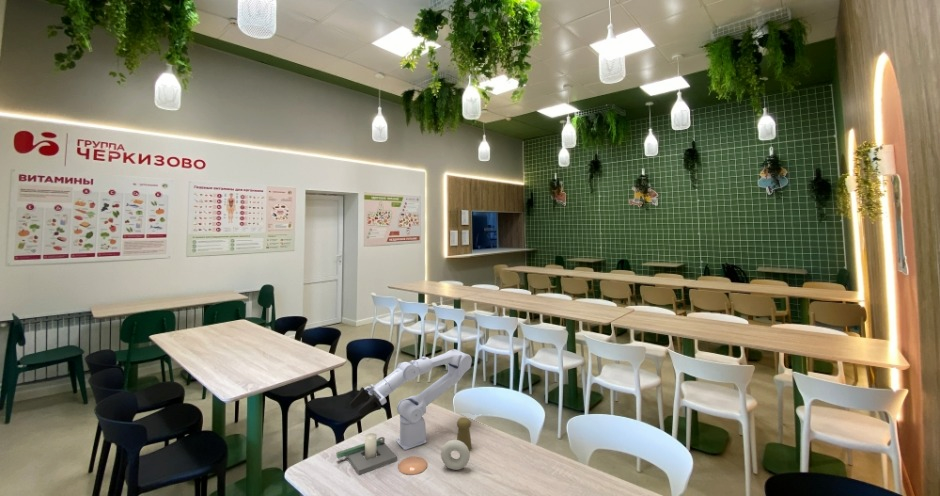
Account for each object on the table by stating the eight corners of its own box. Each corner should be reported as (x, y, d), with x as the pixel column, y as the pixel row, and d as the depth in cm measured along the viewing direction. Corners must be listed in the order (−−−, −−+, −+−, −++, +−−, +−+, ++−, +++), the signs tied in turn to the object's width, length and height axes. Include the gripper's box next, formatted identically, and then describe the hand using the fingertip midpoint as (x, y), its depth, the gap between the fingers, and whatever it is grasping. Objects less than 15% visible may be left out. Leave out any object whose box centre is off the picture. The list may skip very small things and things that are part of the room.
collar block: (381, 443, 148) (381, 439, 148) (397, 460, 137) (397, 456, 137) (344, 455, 140) (344, 451, 139) (358, 475, 128) (358, 470, 128)
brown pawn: (469, 453, 142) (470, 423, 141) (454, 451, 143) (454, 422, 142) (473, 444, 148) (473, 416, 147) (457, 442, 149) (457, 414, 148)
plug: (373, 453, 141) (373, 432, 141) (378, 458, 138) (378, 436, 137) (363, 457, 138) (363, 435, 138) (367, 462, 135) (367, 440, 135)
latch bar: (383, 440, 147) (383, 436, 147) (385, 443, 145) (385, 439, 145) (336, 456, 136) (336, 451, 136) (338, 459, 134) (338, 454, 134)
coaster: (418, 454, 141) (418, 453, 141) (432, 467, 132) (432, 466, 132) (393, 463, 135) (393, 462, 135) (406, 478, 127) (406, 477, 127)
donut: (470, 467, 133) (470, 438, 133) (468, 473, 130) (469, 444, 129) (441, 464, 134) (442, 436, 134) (439, 470, 131) (439, 441, 131)
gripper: (374, 371, 146) (342, 394, 139) (391, 382, 135) (357, 407, 127) (381, 387, 148) (350, 410, 141) (399, 398, 137) (366, 424, 129)
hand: (354, 410), depth 134 cm, fingers open, 7 cm apart
